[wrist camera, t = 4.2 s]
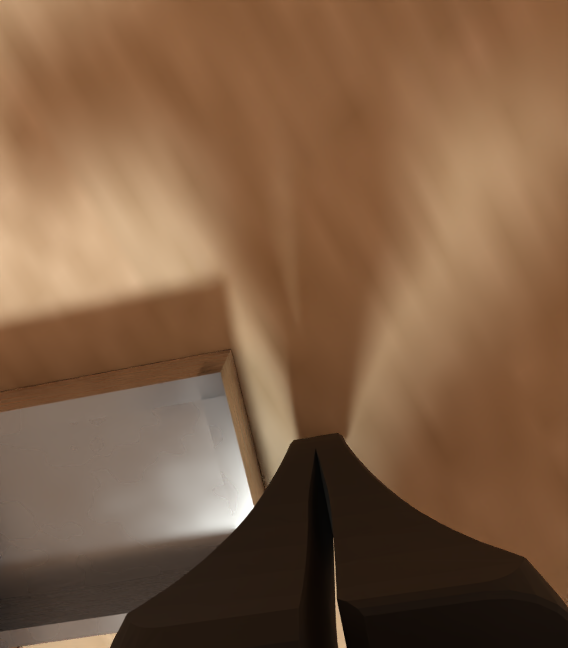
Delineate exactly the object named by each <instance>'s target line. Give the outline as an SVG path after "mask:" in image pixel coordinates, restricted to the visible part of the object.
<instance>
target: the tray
mask: <svg viewBox="0 0 568 648" xmlns="http://www.w3.org/2000/svg"><path fill="white" fill-rule="evenodd" d="M264 491H265V489H264V485H263V481H262V477H261V472H260V468H259V464H258V460H257V456H256V452H255V447H254V443H253V439H252V435H251V431H250V426H249V422H248V418H247V414H246V410H245V406H244V401H243V397H242V393H241V389H240V385H239V381H238V376H237V372H236V368H235V364H234V360H233V356H232V351H231V349H229V350H223V351H218V352H212V353H207V354H202V355H196V356H191V357H186V358H180V359H175V360H169V361H164V362H159V363H153V364H148V365H142V366H137V367H132V368H126V369H121V370H116V371H110V372H105V373H99V374H94V375H89V376H83V377H78V378H73V379H67V380H62V381H56V382H51V383H46V384H40V385H35V386H30V387H24V388H19V389H13V390H8V391H3V392H0V648H12V647H19V646H26V645H33V644H40V643H47V642H54V641H61V640H68V639H75V638H82V637H89V636H96V635H103V634H110V633H117V632H118V630H119V628H120V626H121V624H122V623H123V620H124V618H125V616H126V614H128V613H129V612H131V611H133V610H134V609H136V608H137V607H139V606H140V605H142V604H144V603H145V602H147V601H148V600H150V599H151V598H153V597H154V596H156V595H157V594H159V593H160V592H162V591H163V590H165V589H166V588H168V587H169V586H171V585H172V584H173V583H175V582H176V581H178V580H179V579H180V578H181V577H183V576H184V575H185V574H187V573H188V572H189V571H191V570H192V569H193V568H194V567H195V566H197V565H198V564H199V563H200V562H201V561H203V560H204V559H205V558H206V557H207V556H208V555H210V554H211V553H212V552H213V551H214V550H215V549H216V548H217V547H218V546H219V545H220V544H221V543H222V542H223V541H224V540H225V539H226V538H227V537H228V536H229V535H230V534H231V533H232V532H233V531H234V530H235V529H236V528H237V527H238V526H239V525H240V524H241V522H242V521H243V520H244V519H245V518H246V517H247V515H248V514H249V513H250V511H251V510H252V509H253V507H254V506H255V505H256V503H257V502H258V500H259V499H260V497H261V496H262V494H263V493H264Z"/></svg>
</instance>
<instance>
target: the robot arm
mask: <svg viewBox="0 0 568 648" xmlns="http://www.w3.org/2000/svg"><path fill="white" fill-rule="evenodd" d="M333 538H334V547H333ZM334 551H335V565H336V586H337V602H338V607H339V612H340V617H341V622H342V626H343V631H344V636H345V641H346V646H347V648H568V607H567V606H566V605H565V603H564V602H563V600H562V599H561V598H560V597H559V595H558V594H557V593H556V592H555V591H554V590H553V588H552V587H551V586H550V585H549V584H548V583H547V582H546V580H545V579H544V578H543V577H542V576H541V575H540V574H539V573H538V571H537V570H536V569H535V568H534V567H533V566H532V565H531V564H530V563H529V561H528V560H527V559H526V558H524V557H522V556H519V555H517V554H514V553H511V552H508V551H505V550H502V549H499V548H497V547H494V546H491V545H488V544H485V543H482V542H480V541H477V540H475V539H472V538H470V537H468V536H466V535H464V534H461V533H459V532H457V531H455V530H452V529H450V528H448V527H446V526H444V525H442V524H440V523H439V522H437V521H435V520H433V519H432V518H430V517H428V516H426V515H425V514H423V513H421V512H419V511H418V510H416V509H415V508H413V507H412V506H410V505H409V504H408V503H406V502H405V501H404V500H402V499H401V498H399V497H398V496H397V495H396V494H394V493H393V492H392V491H391V490H390V489H388V488H387V487H386V486H385V485H384V484H383V483H382V482H381V481H379V480H378V479H377V478H376V477H375V476H374V475H373V474H372V473H371V472H370V471H369V470H368V469H367V468H366V467H365V466H364V464H363V463H362V462H361V461H360V460H359V459H358V458H357V457H356V455H355V454H354V453H353V452H352V450H351V449H350V448H349V446H348V445H347V443H346V442H345V440H344V438H343V436H341V435H340V434H339V433H335V434H329V435H323V436H317V437H311V438H305V439H299V440H293V442H292V443H291V444H290V446H289V448H288V451H287V453H286V455H285V457H284V459H283V461H282V463H281V465H280V466H279V468H278V470H277V472H276V473H275V475H274V477H273V479H272V480H271V482H270V484H269V485H268V487H267V489H266V490H265V491H264V493H263V494H262V496H261V497H260V499H259V500H258V502H257V503H256V505H255V506H254V507H253V509H252V510H251V511H250V513H249V514H248V515H247V517H246V518H245V519H244V520H243V521H242V522H241V524H240V525H239V526H238V527H237V528H236V529H235V530H234V531H233V532H232V533H231V534H230V535H229V536H228V537H227V538H226V539H225V540H224V541H223V542H222V543H221V544H220V545H219V546H218V547H217V548H216V549H215V550H214V551H213V552H212V553H211V554H210V555H208V556H207V557H206V558H205V559H204V560H203V561H201V562H200V563H199V564H198V565H197V566H195V567H194V568H193V569H192V570H191V571H189V572H188V573H187V574H185V575H184V576H183V577H181V578H180V579H179V580H178V581H176V582H175V583H173V584H172V585H171V586H169V587H168V588H166V589H165V590H163V591H162V592H160V593H159V594H157V595H156V596H154V597H153V598H151V599H150V600H148V601H147V602H145V603H144V604H142V605H140V606H139V607H137V608H136V609H134V610H133V611H131V612H129V613H128V614H126V616H125V618H124V620H123V623H122V624H121V626H120V628H119V630H118V632H117V634H116V636H115V638H114V640H113V642H112V645H111V647H110V648H338V643H337V631H336V612H335V579H334Z"/></svg>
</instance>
